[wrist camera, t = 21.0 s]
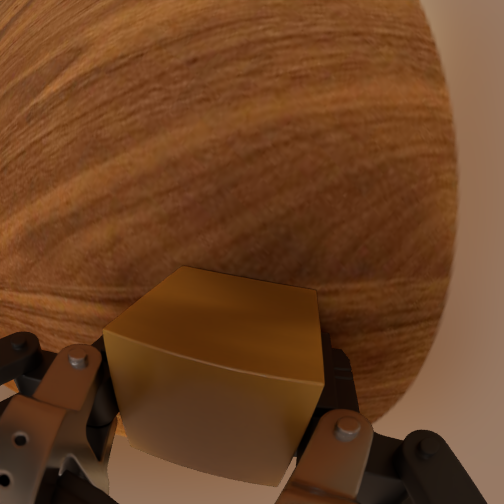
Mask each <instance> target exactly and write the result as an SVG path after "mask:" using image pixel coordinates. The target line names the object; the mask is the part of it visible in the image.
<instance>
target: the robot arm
mask: <svg viewBox="0 0 504 504" xmlns="http://www.w3.org/2000/svg"><path fill="white" fill-rule="evenodd" d="M321 341H322V353H323V366H324V380H325V385H324V388H323V390H322V393H321V396H320V398H319V401H318V403H317V405H316V408H315V410H314V413H313V415H312V417H311V420H310V422H309V424H308V426H307V429H306V431H305V433H304V435H303V438H302V440H301V442H300V444H299V446H298V448H297V450H296V452H295V454H294V456H293V457H297V460H296V468H295V470H294V471H293V473H292V475H291V477H290V478H289V480H288V482H287V484H286V485H285V487H284V489H283V491H282V492H281V494H280V496H279V497H278V499H277V501H276V502H275V504H487V502H486V501H485V499H484V498H483V496H482V495H481V493H480V492H479V490H478V488H477V487H476V485H475V484H474V482H473V481H472V479H471V478H470V476H469V475H468V473H467V472H466V470H465V469H464V467H463V466H462V465H461V463H460V462H459V460H458V459H457V457H456V456H455V454H454V453H453V452H452V450H451V449H450V447H449V446H448V444H447V443H446V442H445V440H444V439H443V438H442V437H441V436H440V435H438V434H437V433H434V432H432V431H428V430H416V431H413V432H411V433H410V434H408V435H407V436H406V438H405V439H404V440H399V439H395V438H391V437H387V436H383V435H380V434H378V433H376V432H374V431H373V427H372V425H371V423H370V421H369V420H368V419H367V418H366V417H365V416H363V415H362V414H360V412H359V406H358V401H357V395H356V390H355V385H354V381H353V374H352V372H351V370H352V369H351V365H350V360H349V358H348V357H347V356H346V354H345V353H344V352H343V351H342V349H334V348H331V341H330V335H329V333H324V332H321ZM13 379H14V381H15V383H16V386H17V388H18V390H19V393H17V394H15V395H13V396H11V397H9V398H7V399H5V400H3V401H1V402H0V504H119V503H117V502H116V501H115V500H113V499H112V498H111V497H110V496H109V479H108V473H107V467H108V462H109V457H110V452H111V448H112V444H113V439H114V435H115V431H116V427H117V417H116V415H117V414H118V412H119V408H118V404H117V400H116V396H115V392H114V388H113V384H112V379H111V375H110V370H109V365H108V360H107V355H106V350H105V344H104V338H103V335H102V336H101V337H100V338H99V339H98V340H97V341H95V342H94V343H93V344H92V345H87V344H73V345H70V346H67V347H65V348H63V349H62V350H61V351H60V352H59V353H53V352H49V351H45V350H41V347H40V343H39V340H38V338H37V336H36V335H34V334H33V333H30V332H17V333H14V334H11V335H9V336H6V337H4V338H1V339H0V385H2V384H4V383H7V382H9V381H11V380H13Z"/></svg>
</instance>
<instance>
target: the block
mask: <svg viewBox="0 0 504 504" xmlns="http://www.w3.org/2000/svg"><path fill="white" fill-rule="evenodd" d="M103 338H104V344H105V350H106V355H107V360H108V365H109V370H110V375H111V379H112V384H113V388H114V392H115V396H116V400H117V404H118V408H119V411H120V415H121V418H122V422H123V425H124V428H125V431H126V435H127V438H128V440H129V443H130V446H131V447H133V448H135V449H138V450H140V451H143V452H145V453H147V454H150V455H153V456H155V457H158V458H161V459H163V460H166V461H169V462H172V463H175V464H178V465H181V466H184V467H187V468H191V469H194V470H197V471H201V472H204V473H208V474H212V475H216V476H220V477H224V478H228V479H233V480H238V481H243V482H248V483H254V484H260V485H267V486H273V487H277V486H278V485H279V483H280V482H281V480H282V478H283V476H284V474H285V472H286V470H287V468H288V466H289V464H290V462H291V460H292V458H293V456H294V454H295V452H296V450H297V448H298V446H299V444H300V442H301V440H302V438H303V435H304V433H305V431H306V429H307V426H308V424H309V422H310V420H311V417H312V415H313V413H314V410H315V408H316V405H317V403H318V401H319V398H320V396H321V393H322V390H323V388H324V385H325V380H324V366H323V353H322V341H321V330H320V320H319V311H318V301H317V293H316V290H312V289H306V288H300V287H294V286H288V285H283V284H277V283H271V282H266V281H260V280H255V279H249V278H244V277H238V276H233V275H228V274H223V273H217V272H212V271H207V270H202V269H197V268H192V267H187V266H181V267H180V268H179V269H177V270H176V271H175V272H173V273H172V274H171V275H170V276H168V277H167V278H166V279H164V280H163V281H162V282H161V283H159V284H158V285H157V286H155V287H154V288H153V289H152V290H150V291H149V292H148V293H147V294H145V295H144V296H143V297H141V298H140V299H139V300H138V301H136V302H135V303H134V304H133V305H131V306H130V307H129V308H128V309H126V310H125V311H124V312H123V313H121V314H120V315H119V316H118V317H117V318H115V319H114V320H113V321H112V322H110V323H109V324H108V325H107V326H105V327H104V328H103Z"/></svg>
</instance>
